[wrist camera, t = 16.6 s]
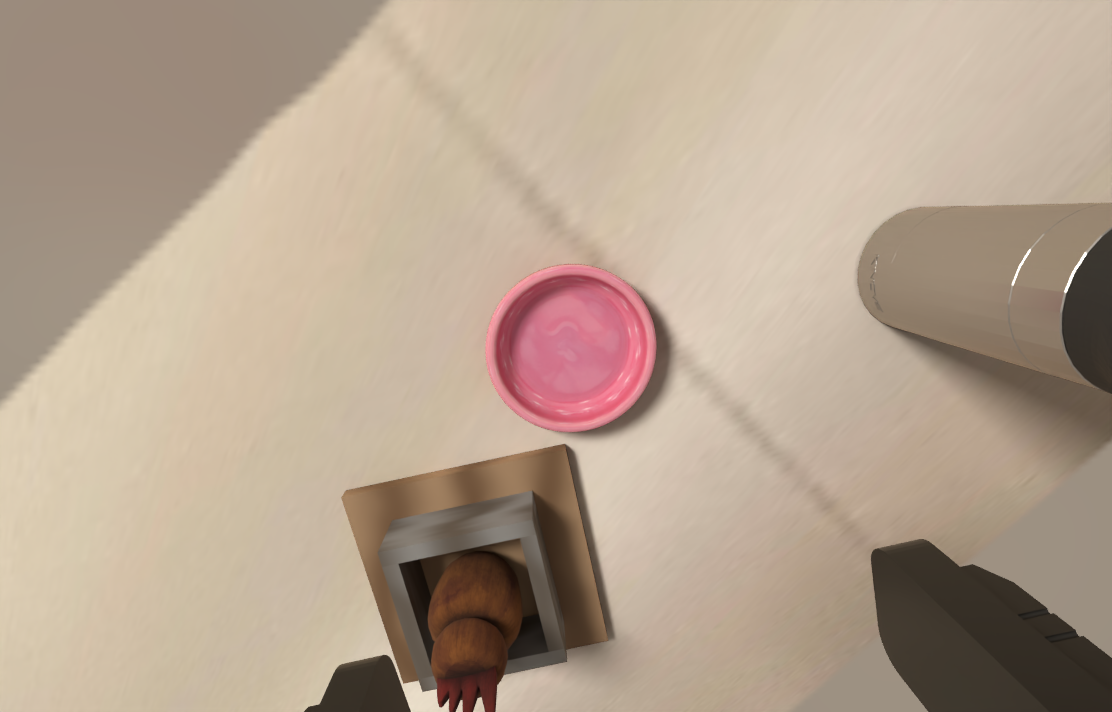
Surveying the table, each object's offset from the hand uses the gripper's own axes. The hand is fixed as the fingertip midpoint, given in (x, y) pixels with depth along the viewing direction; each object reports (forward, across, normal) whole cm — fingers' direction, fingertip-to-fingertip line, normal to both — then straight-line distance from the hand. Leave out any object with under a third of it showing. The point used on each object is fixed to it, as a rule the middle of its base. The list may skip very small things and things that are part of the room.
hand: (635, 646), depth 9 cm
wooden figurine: (+34, +11, +19) cm, 40 cm away
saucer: (+35, 0, +3) cm, 35 cm away
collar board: (+35, +11, +20) cm, 41 cm away
